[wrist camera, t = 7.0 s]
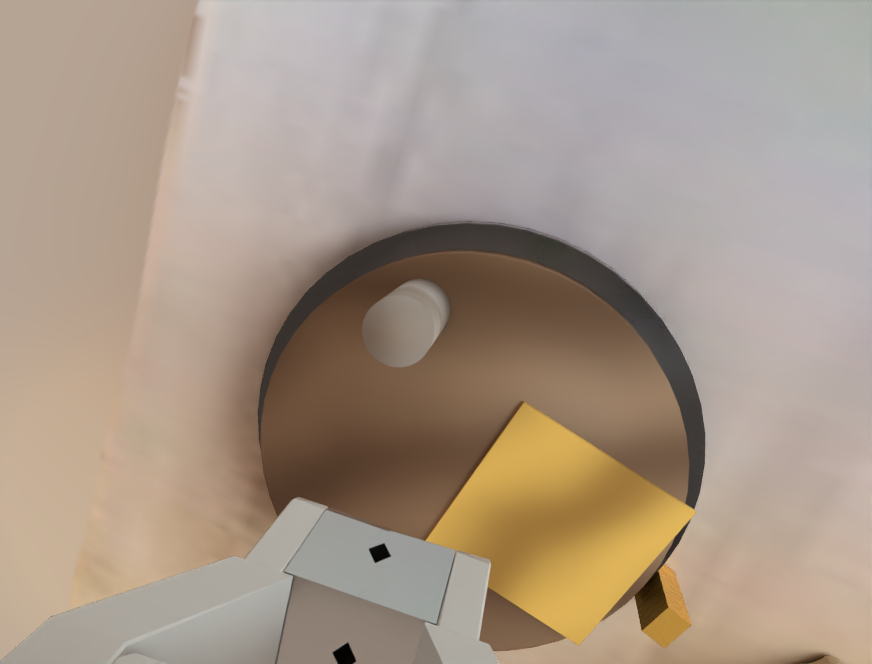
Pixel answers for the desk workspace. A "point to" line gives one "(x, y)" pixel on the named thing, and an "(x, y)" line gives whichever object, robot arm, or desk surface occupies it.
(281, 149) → the desk surface
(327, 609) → the robot arm
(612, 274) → the wheel base
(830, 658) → the handle
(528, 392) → the disc
